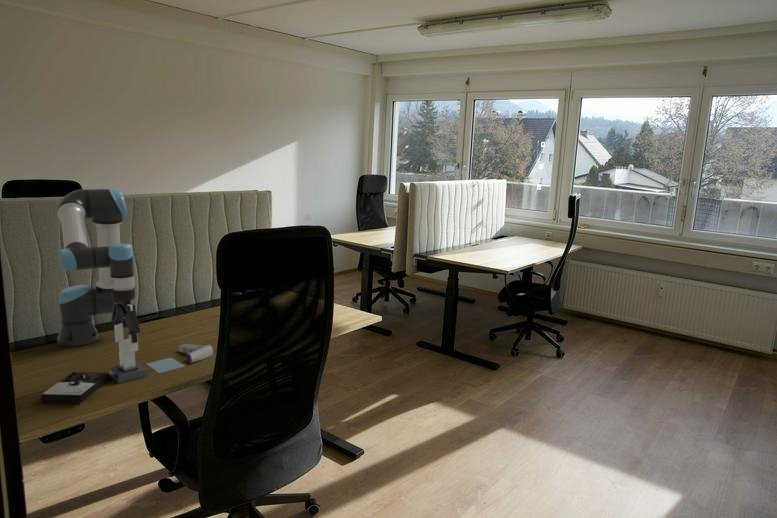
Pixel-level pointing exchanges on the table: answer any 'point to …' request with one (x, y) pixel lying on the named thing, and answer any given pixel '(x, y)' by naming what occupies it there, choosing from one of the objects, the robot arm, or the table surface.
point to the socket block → (128, 373)
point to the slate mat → (165, 365)
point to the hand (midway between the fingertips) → (126, 346)
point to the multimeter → (74, 388)
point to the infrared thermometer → (196, 352)
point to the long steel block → (126, 357)
